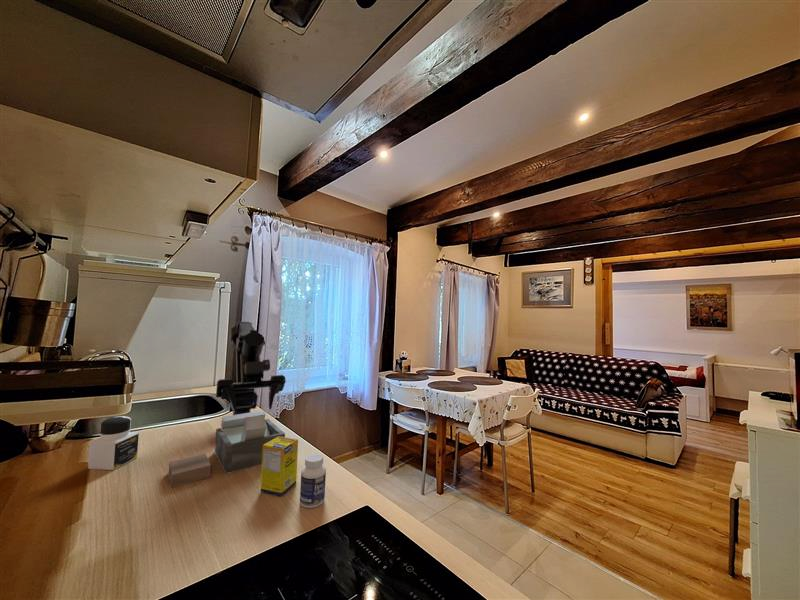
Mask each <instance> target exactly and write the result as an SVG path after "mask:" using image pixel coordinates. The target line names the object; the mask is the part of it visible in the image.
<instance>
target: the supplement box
mask: <svg viewBox="0 0 800 600" xmlns="http://www.w3.org/2000/svg"><path fill="white" fill-rule="evenodd" d="M298 450H299V438H298V439H297V438H291V437H286V436H285V437H280V436H278V437H276V438H275V439H273V440H271V441H269V442H267V443H266V444H264V445H263V447H262V464H261V473H260V474H261V475H260V492H261V493H267V494H271V495H276V496H280V497H283V495H284V494H285V495H286V493H287V492H288V491H290V489H291V488H293V487H294V486H296V484H297V477H298V476H297V474H298V473H297V472H298V452H299V451H298Z"/></svg>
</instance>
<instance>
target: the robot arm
mask: <svg viewBox="0 0 800 600" xmlns="http://www.w3.org/2000/svg"><path fill="white" fill-rule="evenodd" d="M229 341H230V342H231V347H232V349H233V350H234V351H235V357H236V359H235V360H236V362H235V364H236V365H235V368H236V369H235V370H236V376H235V377H236V382H234V379H233V378H222V379H219V380H217V381H216V389H215V390H216V391H215V397H216V398H220V399H221V400H225V401H226V402H227V403H228V410H229V411H228V412H232V415H238V414H244V413H250V412H251V410H255V409H256V408H257V407H258V398H259V395H258V394H257V391H255V389H262V388H269V389H268V390H269V392H268V408H269V410H272V406H273V403H274V398H275V395H276V394H279V393H280V392H282V391H283V390H284V387H285V383H287V382H286V381H287V380H286V377H285V375H284V374H276V375H270V376H271V377H270V379H269V380H263V378H264V372H269V371H270V369H271V361H270V360H271V359H263V360H262V361H261V354H262V351H263V347H264V345H266V340H265V337H264V336H263V334H261V333H259V332H258V330H256V329H255V328H254V327H253V323H252V322H250V321H238V322H237V323H236V325H235V326H233V327H231V329H230V333H229ZM239 427H240V426H239Z"/></svg>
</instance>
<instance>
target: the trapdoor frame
mask: <svg viewBox="0 0 800 600" xmlns="http://www.w3.org/2000/svg"><path fill="white" fill-rule="evenodd" d="M265 422H266V425H267V427H268V430H269V432H270V435H269V436H264V437H260V438H255V439H251V440H246V441H242V442H238V443H233V444H231V442H230V441H229V439H228V438H227V436H226V435H225V433H224V432H223V430H222V427H218V428H215V445H214V454H215V456H216V457H217V460H218V461H219V463H220V465H221V467H222V469H223V471H224V473H225V474H230V473H233V472H237V471H240V470H244V469H247V468H248V469H249V468H251V467H255V466H258V464H259V465H262V447H263V445H264V444H266V443H267V442H269V441H271V440H273V439H275V438H276V437H278V436H280V437H286V433H285V432H284V431H283V430H281V428H280V427H278V426H277V425H276V424H275V423H274V422H273V421H271V419H269V418H267V419H265Z"/></svg>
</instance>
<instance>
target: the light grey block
mask: <svg viewBox="0 0 800 600" xmlns="http://www.w3.org/2000/svg"><path fill="white" fill-rule="evenodd" d="M265 418H266V417H265ZM265 418H264V416H254V417H245V421H244V426H243V432H242V437H241V442H242V441H246V440H251V439H255V438H260V437H264V436H265V431H266V423H265V420H266V419H265Z"/></svg>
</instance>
